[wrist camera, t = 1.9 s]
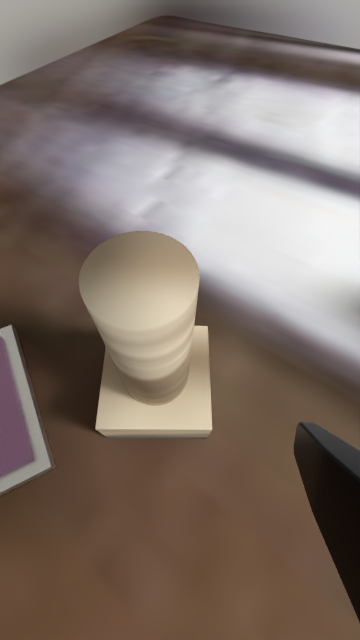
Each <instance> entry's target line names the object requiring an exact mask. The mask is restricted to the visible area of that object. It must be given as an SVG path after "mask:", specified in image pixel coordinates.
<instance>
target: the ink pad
mask: <svg viewBox="0 0 360 640" xmlns="http://www.w3.org/2000/svg"><path fill="white" fill-rule="evenodd" d="M54 468H56V466H55V463H54V459H53V456H52V452H51V449H50V445H49V442H48V438H47V435H46V431H45V428H44V424H43V421H42V417H41V414H40V410H39V407H38V403H37V400H36V397H35V393H34V390H33V386H32V383H31V379H30V376H29V372H28V369H27V365H26V362H25V358H24V355H23V351H22V348H21V344H20V341H19V338H18V334H17V331H16V329H15V328H14V327H13V326H12V325H9V326H7V327H4V328H2V329H0V496H1V495H3V494H5V493H7V492H9V491H11V490H13V489H15V488H17V487H19V486H21V485H23V484H25V483H27V482H29V481H31V480H33V479H35V478H37V477H39V476H41V475H43V474H45V473H46V472H48V471H50V470H52V469H54Z"/></svg>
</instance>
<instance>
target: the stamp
mask: <svg viewBox="0 0 360 640" xmlns="http://www.w3.org/2000/svg"><path fill="white" fill-rule="evenodd" d="M198 288H199V269H198V266H197V263H196V260H195V258H194V257H193V255H192V254H191V252H190V251H189V250H188V249H187V248H186V247H185V246H184V245H183V244H182V243H180V242H179V241H177V240H176V239H174V238H172V237H170V236H167V235H164V234H161V233H157V232H151V231H134V232H128V233H123V234H120V235H117V236H114V237H112V238H110V239H108V240H106V241H105V242H103V243H101V244H100V245H99V246H97V247H96V248H95V249H94V250H93V251H92V252H91V253H90V255H89V256H88V257H87V259H86V260H85V262H84V264H83V266H82V268H81V272H80V276H79V289H80V293H81V296H82V299H83V301H84V303H85V305H86V307H87V309H88V311H89V313H90V315H91V317H92V319H93V321H94V323H95V325H96V327H97V329H98V331H99V333H100V335H101V337H102V340H103V342H104V344H105V346H106V348H105V356H104V364H103V372H102V380H101V388H100V396H99V404H98V412H97V420H96V428H95V429H96V430H97V431H99V432H100V433H101V434H103V435H104V436H105V437H107V438H148V439H207V437H208V435H209V434H210V432H211V431H212V414H211V392H210V370H209V348H208V326H194V322H195V313H196V305H197V296H198Z"/></svg>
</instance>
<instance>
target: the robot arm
mask: <svg viewBox="0 0 360 640" xmlns="http://www.w3.org/2000/svg"><path fill="white" fill-rule="evenodd" d="M294 455H295V459H296V462H297V465H298V468H299V472H300V475H301V478H302V481H303V484H304V487H305V491H306V494H307V497H308V500H309V503H310V506H311V509H312V512H313V514H314V517H315V519H316V522H317V524H318V527H319V529H320V531H321V533H322V536H323V538H324V540H325V543H326V545H327V547H328V550H329V552H330V554H331V557H332V559H333V561H334V564H335V566H336V568H337V571H338V573H339V575H340V578H341V580H342V582H343V585H344V587H345V589H346V592H347V594H348V596H349V598H350V601H351V603H352V605H353V608H354V610H355V612H356V615H357V617H358V619H359V622H360V450H358V449H357V448H355V447H353V446H352V445H350V444H349V443H347V442H345V441H344V440H342V439H340V438H339V437H337V436H335V435H334V434H332V433H331V432H329V431H327V430H326V429H324V428H322V427H321V426H319V425H317V424H316V423H314V422H300V423H298V425H297V428H296V435H295V442H294Z"/></svg>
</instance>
